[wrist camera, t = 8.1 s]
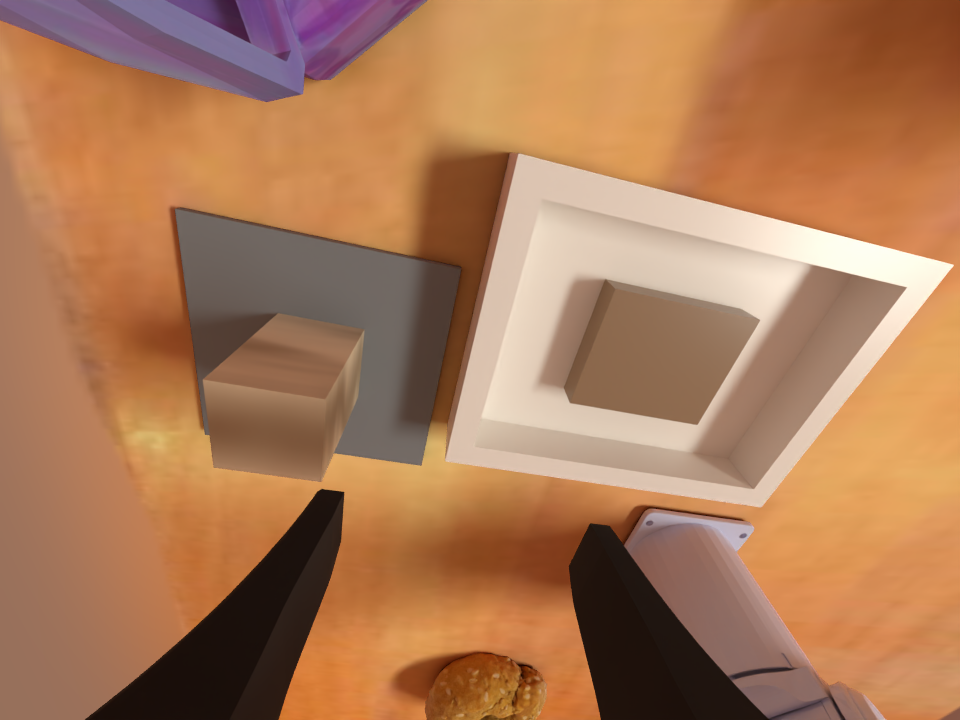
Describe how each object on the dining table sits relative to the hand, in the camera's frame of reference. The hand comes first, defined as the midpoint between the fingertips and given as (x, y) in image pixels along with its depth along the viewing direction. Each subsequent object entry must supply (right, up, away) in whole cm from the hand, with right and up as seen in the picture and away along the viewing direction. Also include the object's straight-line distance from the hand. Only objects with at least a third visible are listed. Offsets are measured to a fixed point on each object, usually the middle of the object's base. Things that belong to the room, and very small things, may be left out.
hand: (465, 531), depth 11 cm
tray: (+9, +6, +9) cm, 14 cm away
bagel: (+1, -25, +25) cm, 35 cm away
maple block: (-8, +5, +8) cm, 12 cm away
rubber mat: (-8, +5, +9) cm, 13 cm away
